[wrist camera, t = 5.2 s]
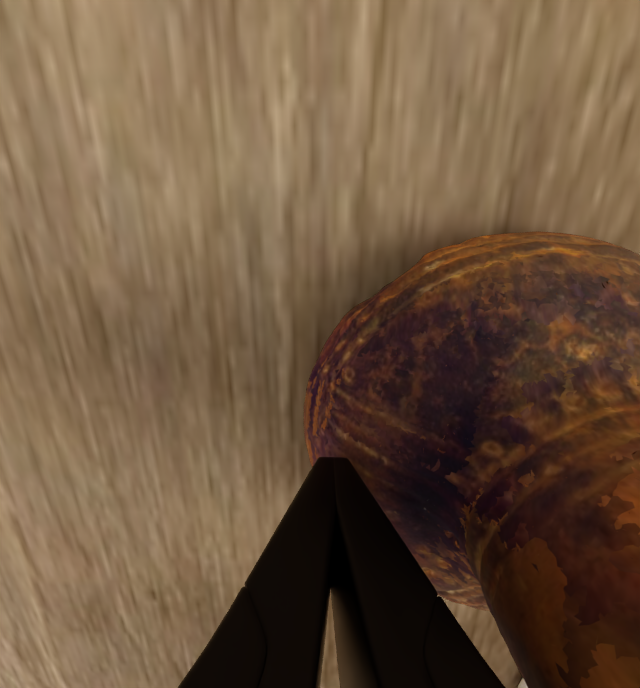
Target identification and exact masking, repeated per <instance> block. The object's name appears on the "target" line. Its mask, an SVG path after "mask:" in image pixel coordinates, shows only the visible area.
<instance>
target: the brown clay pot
mask: <svg viewBox="0 0 640 688" xmlns="http://www.w3.org/2000/svg"><path fill="white" fill-rule="evenodd" d="M534 250H535V251H534ZM304 434H305V441H306V446H307V450H308V453H309V457H310V463H311V465H312V467H313V465H314V464H315V462H316V460H317V459H318V458H319V457H321V456H322V457H343V458H348V459H349V461H350V462H351V464H352V465H353V467H354V468H355V470H356V471H357V473H358V474H359V476H360V477H361V478H362V480H363V481H364V483H365V484H366V486H367V487H368V489H369V490H370V492H371V493H372V495H373V496H374V498H375V499H376V501H377V502H378V504H379V505H380V507H381V508H382V510H383V511H384V513H385V514H386V516H387V517H388V519H389V520H390V522H391V523H392V525H393V526H394V528H395V529H396V531H397V532H398V534H399V535H400V537H401V538H402V540H403V541H404V543H405V544H406V546H407V547H408V549H409V550H410V552H411V553H412V555H413V556H414V558H415V559H416V561H417V562H418V564H419V565H420V567H421V568H422V570H423V571H424V573H425V574H426V576H427V577H428V579H429V580H430V582H431V583H432V585H433V586H434V588H435V589H436V591H437V593H438V595H440V596H442V597H444V598H446V599H448V600H450V601H452V602H456V603H460V604H465V605H467V606H470V607H473V608H477V609H481V610H486V611H490V612H491V614H492V615H493V617H494V618H495V621H496V623H497V626H498V628H499V631H500V633H501V635H502V637H503V638H504V640H505V642H506V644H507V646H508V648H509V651H510V653H511V655H512V657H513V659H514V661H515V663H516V665H517V667H518V669H519V671H520V673H521V675H522V677H523V679H524V681H525V683H526V685H527V687H528V688H640V255H639V254H636V253H634V252H632V251H630V250H627V249H625V248H622V247H619V246H616V245H613V244H611V243H608V242H604V241H600V240H596V239H593V238H588V237H583V236H577V235H571V234H563V233H550V232H526V233H506V234H497V235H487V236H481V237H475V238H472V239H469V240H467V241H465V242H463V243H461V244H458V245H451V246H447V247H443V248H440V249H437V250H435V251H432V252H430V253H428V254H426V255H425V256H423V257H422V258H421V260H420V261H419V262H418V263H417V264H416V265H415V266H414V267H412V268H411V269H410V270H408V271H407V272H406V273H404V274H403V275H401V276H400V277H398V278H397V279H396V280H395V281H393V282H391V283H389V284H388V285H386V286H384V287H383V288H382V289H381V290H380V291H379V292H378V293H377V294H376V295H375V296H373V297H372V298H370V299H368V300H366V301H364V302H362V303H360V304H358V305H357V306H355V307H354V308H353V309H351V310H350V311H349V312H348V313H347V314H346V315H345V316H344V317H343V318H342V320H341V322H340V323H339V324H338V326H337V327H336V328H335V329H334V331H333V332H332V334H331V336H330V337H329V339H328V340H327V342H326V343H325V345H324V347H323V349H322V351H321V353H320V356H319V358H318V360H317V362H316V364H315V366H314V368H313V370H312V373H311V375H310V378H309V382H308V385H307V389H306V397H305V402H304Z"/></svg>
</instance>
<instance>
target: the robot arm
mask: <svg viewBox="0 0 640 688" xmlns="http://www.w3.org/2000/svg"><path fill="white" fill-rule="evenodd" d="M330 588H331V598H332V609H333V619H334V629H335V640H336V650H337V661H338V671H339V681H340V688H505V687H504V685H503V684H502V683H501V681H500V680H499V679H498V677H497V676H496V675H495V673H494V672H493V671H492V669H491V668H490V667H489V666H488V664H487V663H486V662H485V660H484V659H483V657H482V656H481V655H480V653H479V652H478V650H477V649H476V647H475V646H474V645H473V643H472V642H471V640H470V639H469V638H468V636H467V635H466V633H465V632H464V630H463V629H462V628H461V626H460V625H459V623H458V622H457V620H456V619H455V617H454V616H453V614H452V613H451V611H450V610H449V608H448V607H447V605H446V604H445V602H444V601H443V599H442V598H441V597H440V596H438V597H437V595H438V593H437V591H436V589H435V588H434V586H433V585H432V583H431V582H430V580H429V579H428V577H427V576H426V574H425V573H424V571H423V570H422V568H421V567H420V565H419V564H418V562H417V561H416V559H415V558H414V556H413V555H412V553H411V552H410V550H409V549H408V547H407V546H406V544H405V543H404V541H403V540H402V538H401V537H400V535H399V534H398V532H397V531H396V529H395V528H394V526H393V525H392V523H391V522H390V520H389V519H388V517H387V516H386V514H385V513H384V511H383V510H382V508H381V507H380V505H379V504H378V502H377V501H376V499H375V498H374V496H373V495H372V493H371V492H370V490H369V489H368V487H367V486H366V484H365V483H364V481H363V480H362V478H361V477H360V476H359V474H358V473H357V471H356V470H355V468H354V467H353V465H352V464H351V462H350V461H349V459H348V458H343V457H322V456H321V457H319V458H318V459H317V460H316V462H315V464H314V465H313V467H312V469H311V471H310V472H309V474H308V476H307V477H306V479H305V481H304V483H303V484H302V486H301V488H300V489H299V491H298V493H297V495H296V496H295V498H294V500H293V501H292V503H291V505H290V507H289V508H288V510H287V512H286V513H285V515H284V517H283V519H282V520H281V522H280V524H279V525H278V527H277V529H276V531H275V532H274V534H273V536H272V537H271V539H270V541H269V543H268V544H267V546H266V548H265V549H264V551H263V553H262V555H261V556H260V558H259V560H258V561H257V563H256V565H255V567H254V568H253V570H252V572H251V573H250V575H249V577H248V579H247V580H246V582H245V587H242V588H241V590H240V592H239V593H238V595H237V597H236V599H235V600H234V602H233V604H232V605H231V607H230V609H229V611H228V612H227V614H226V615H225V617H224V619H223V620H222V622H221V623H220V625H219V627H218V628H217V630H216V631H215V633H214V635H213V636H212V638H211V640H210V641H209V643H208V644H207V646H206V647H205V649H204V650H203V652H202V653H201V655H200V656H199V658H198V659H197V661H196V662H195V663H194V665H193V666H192V668H191V669H190V671H189V672H188V674H187V675H186V677H185V678H184V680H183V681H182V682H181V684H180V685H179V687H178V688H320V682H321V673H322V663H323V654H324V644H325V635H326V625H327V616H328V607H329V597H330Z"/></svg>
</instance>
